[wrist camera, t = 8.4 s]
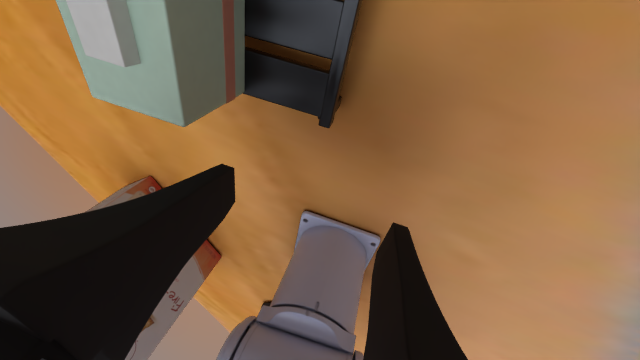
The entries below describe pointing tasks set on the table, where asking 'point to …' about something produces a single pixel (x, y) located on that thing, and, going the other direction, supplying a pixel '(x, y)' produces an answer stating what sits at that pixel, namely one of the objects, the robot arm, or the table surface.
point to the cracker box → (178, 290)
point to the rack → (304, 35)
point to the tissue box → (160, 53)
